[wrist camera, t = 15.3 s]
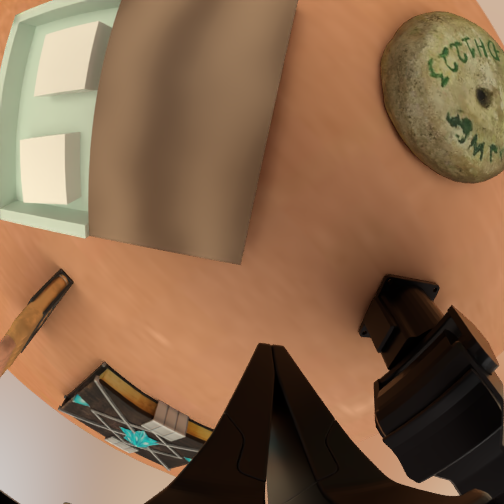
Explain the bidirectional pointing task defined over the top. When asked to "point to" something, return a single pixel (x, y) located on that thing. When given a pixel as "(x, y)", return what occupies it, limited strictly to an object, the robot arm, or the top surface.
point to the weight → (447, 95)
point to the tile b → (72, 60)
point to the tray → (44, 112)
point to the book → (135, 419)
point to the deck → (185, 122)
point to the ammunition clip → (32, 319)
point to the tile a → (51, 168)
